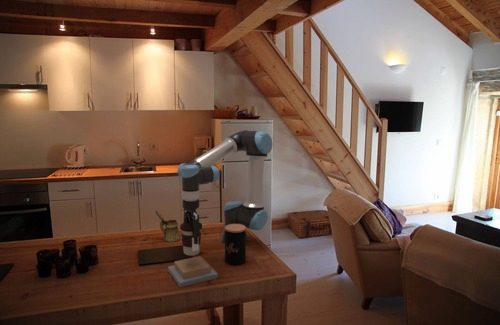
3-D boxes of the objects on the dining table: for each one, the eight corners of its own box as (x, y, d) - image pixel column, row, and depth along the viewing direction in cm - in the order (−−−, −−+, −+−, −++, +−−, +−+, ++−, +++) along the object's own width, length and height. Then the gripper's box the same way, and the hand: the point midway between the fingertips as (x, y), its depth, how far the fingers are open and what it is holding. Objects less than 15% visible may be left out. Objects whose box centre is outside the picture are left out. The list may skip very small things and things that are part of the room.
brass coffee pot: (156, 237, 207) (155, 208, 204) (179, 236, 210) (179, 207, 207) (156, 243, 199) (154, 213, 196) (180, 241, 202) (179, 211, 199)
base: (203, 262, 175) (203, 253, 174) (217, 277, 159) (217, 267, 159) (168, 270, 166) (167, 260, 165) (179, 287, 151) (179, 276, 150)
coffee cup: (198, 258, 155) (197, 225, 153) (177, 256, 157) (176, 224, 155) (205, 249, 165) (205, 218, 162) (185, 247, 167) (185, 217, 164)
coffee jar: (220, 261, 177) (220, 227, 174) (235, 254, 184) (235, 222, 182) (235, 267, 170) (235, 232, 167) (250, 260, 177) (250, 227, 174)
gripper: (175, 194, 165) (176, 240, 168) (191, 206, 146) (191, 256, 149) (190, 193, 168) (191, 237, 172) (207, 204, 150) (208, 253, 153)
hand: (191, 246), depth 161 cm, fingers closed on coffee cup, 9 cm apart
